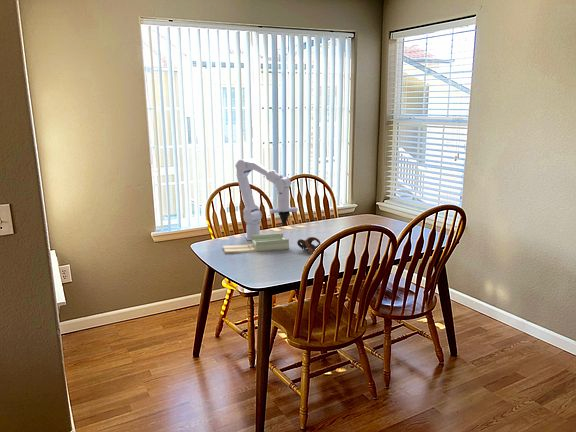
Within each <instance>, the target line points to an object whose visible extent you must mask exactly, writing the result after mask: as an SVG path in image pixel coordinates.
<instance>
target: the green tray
mask: <svg viewBox="0 0 576 432" xmlns="http://www.w3.org/2000/svg"><path fill="white" fill-rule="evenodd" d="M251 244H252V245H253V246H254V248H255V249H256V253H260V252H270V251H273V252H274V251H281V250H283V251H284V250H289V249H290V239H289V238H285V237H284V232H279V233H263V234H262V233H261V234H260V235H252V240H251Z"/></svg>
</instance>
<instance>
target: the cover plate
mask: <svg viewBox="0 0 576 432" xmlns="http://www.w3.org/2000/svg"><path fill="white" fill-rule="evenodd" d="M222 249H223V252H224V254H225V255H232V254H244V253H253V252H256V249H255V248H254V246H253V245H252V243H243V244H232V245H231V244H229V245H222ZM256 253H257V252H256Z"/></svg>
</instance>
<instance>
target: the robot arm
mask: <svg viewBox="0 0 576 432" xmlns="http://www.w3.org/2000/svg"><path fill="white" fill-rule="evenodd" d="M235 169H236V179H237V182H238V186H239V189H240V192H241V196H242V201H243V204H244V208H243V210H242V212H243V213H242V214H243V221H244V222H245V224H246V226H245V227H246V228H245V229H246V234H245V235H244V237H245V239H246V240H247V241H252V235H261V229H260V227H261V226H260V222H261V220H262V218H263V213H262V211H261V210H260V208H259V206H258V205H256V203H255V199H254V196H253V192H252V189H251V186H250V182H249V179H248V176H249V175H250V173H251V172H252V171H255V172H258V173H260V174H261V175H263V176H265V179H266V180H267V181H268V182H270V183H272V184H273V185H275V187H276V189H277V207H276V208H270V209H269V213H270V214H278V215H279V218H280V220H281V224H282V227H286V226H287V221H288V219H289V216H290V213H293V212H295V213H296V212H299V210H298V207H297V206H296V207H295V206H293V207H291V206H290V187H291V185H292V181H291V179H290V177H288V176H284V175H282V174H279V173H278V172H277V171H276V170H275V169H270V170H269V169H268V168H266V167H265V166H263V165H262V164H260V163H259V162H258V161H257V160H256V159H254V158H253V157H249V158H244V159H238V160H237V162H236V163H235Z"/></svg>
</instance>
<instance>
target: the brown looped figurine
mask: <svg viewBox="0 0 576 432" xmlns="http://www.w3.org/2000/svg"><path fill="white" fill-rule="evenodd" d="M314 241H316V243H318V244H317V245H315V244H313V242H314ZM297 245H298V247H299V248H301V250H306V249H308V251H307V254H309V255H310V254H312V253H314V251H315V249H316V248H317V247H318V246H319V245H321V241H320V239H318V237H314V236H310V237H307V238H306V239H301V238H300V239H298V240H297ZM315 252H316V251H315Z"/></svg>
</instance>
